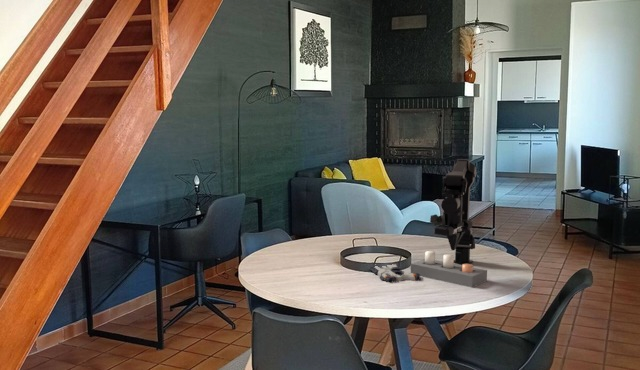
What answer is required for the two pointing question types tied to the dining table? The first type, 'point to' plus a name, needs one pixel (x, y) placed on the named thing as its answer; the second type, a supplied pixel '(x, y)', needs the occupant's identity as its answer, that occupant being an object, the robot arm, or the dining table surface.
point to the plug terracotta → (467, 268)
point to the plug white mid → (448, 261)
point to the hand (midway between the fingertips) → (453, 249)
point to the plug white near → (430, 257)
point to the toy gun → (393, 273)
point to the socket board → (449, 273)
